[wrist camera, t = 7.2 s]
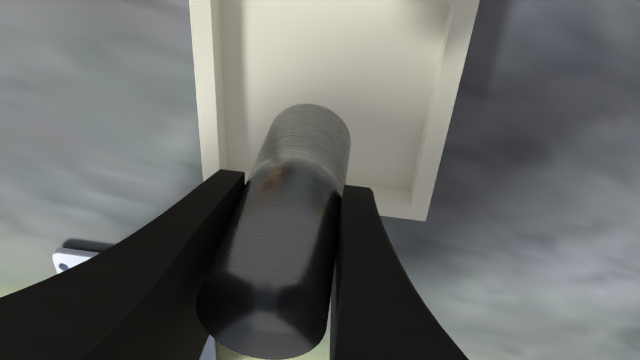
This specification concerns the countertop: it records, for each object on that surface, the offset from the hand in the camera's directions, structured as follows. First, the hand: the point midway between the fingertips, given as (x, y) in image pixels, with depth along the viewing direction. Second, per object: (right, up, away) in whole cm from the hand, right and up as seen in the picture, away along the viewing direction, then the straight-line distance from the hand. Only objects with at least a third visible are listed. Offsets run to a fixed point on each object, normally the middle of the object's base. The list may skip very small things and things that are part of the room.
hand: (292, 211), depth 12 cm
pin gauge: (0, +2, +2) cm, 3 cm away
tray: (+1, +4, +6) cm, 8 cm away
